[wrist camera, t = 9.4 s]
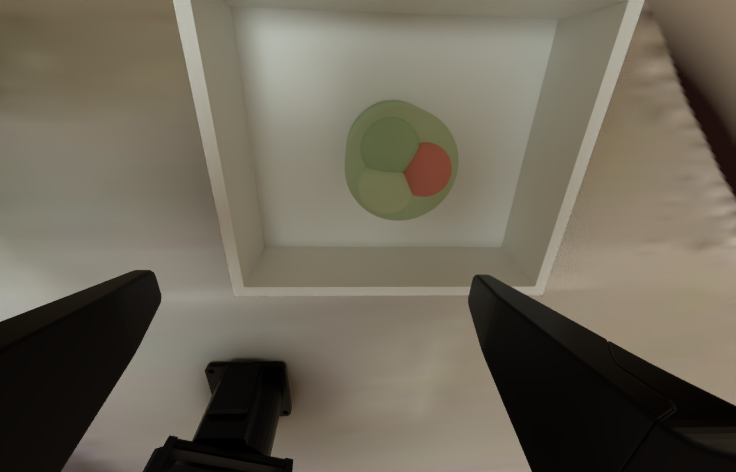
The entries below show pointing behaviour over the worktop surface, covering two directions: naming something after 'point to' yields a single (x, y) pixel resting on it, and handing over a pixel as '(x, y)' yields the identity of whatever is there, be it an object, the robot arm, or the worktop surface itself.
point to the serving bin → (420, 88)
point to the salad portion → (399, 160)
